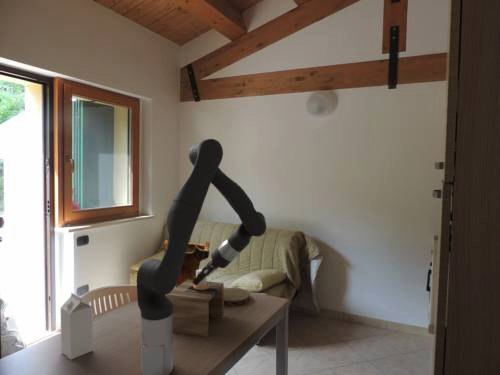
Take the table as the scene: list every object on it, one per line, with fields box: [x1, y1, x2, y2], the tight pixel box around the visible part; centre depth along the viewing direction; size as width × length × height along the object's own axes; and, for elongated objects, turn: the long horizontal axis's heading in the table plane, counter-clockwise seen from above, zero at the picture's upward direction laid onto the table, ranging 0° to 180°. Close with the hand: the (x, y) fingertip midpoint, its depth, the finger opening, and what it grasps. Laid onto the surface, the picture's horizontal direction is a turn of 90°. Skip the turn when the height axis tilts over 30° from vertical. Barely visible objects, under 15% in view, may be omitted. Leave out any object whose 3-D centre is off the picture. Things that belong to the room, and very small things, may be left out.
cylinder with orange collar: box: [193, 268, 209, 291], centre depth 132 cm, size 6×6×16 cm
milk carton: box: [60, 292, 94, 361], centre depth 111 cm, size 7×7×19 cm
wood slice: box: [224, 287, 251, 307], centre depth 158 cm, size 16×16×3 cm
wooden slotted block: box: [166, 279, 225, 338], centre depth 133 cm, size 18×16×14 cm
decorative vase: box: [163, 239, 211, 288], centre depth 161 cm, size 21×23×28 cm
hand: (196, 281), depth 132 cm, fingers closed on cylinder with orange collar, 4 cm apart
